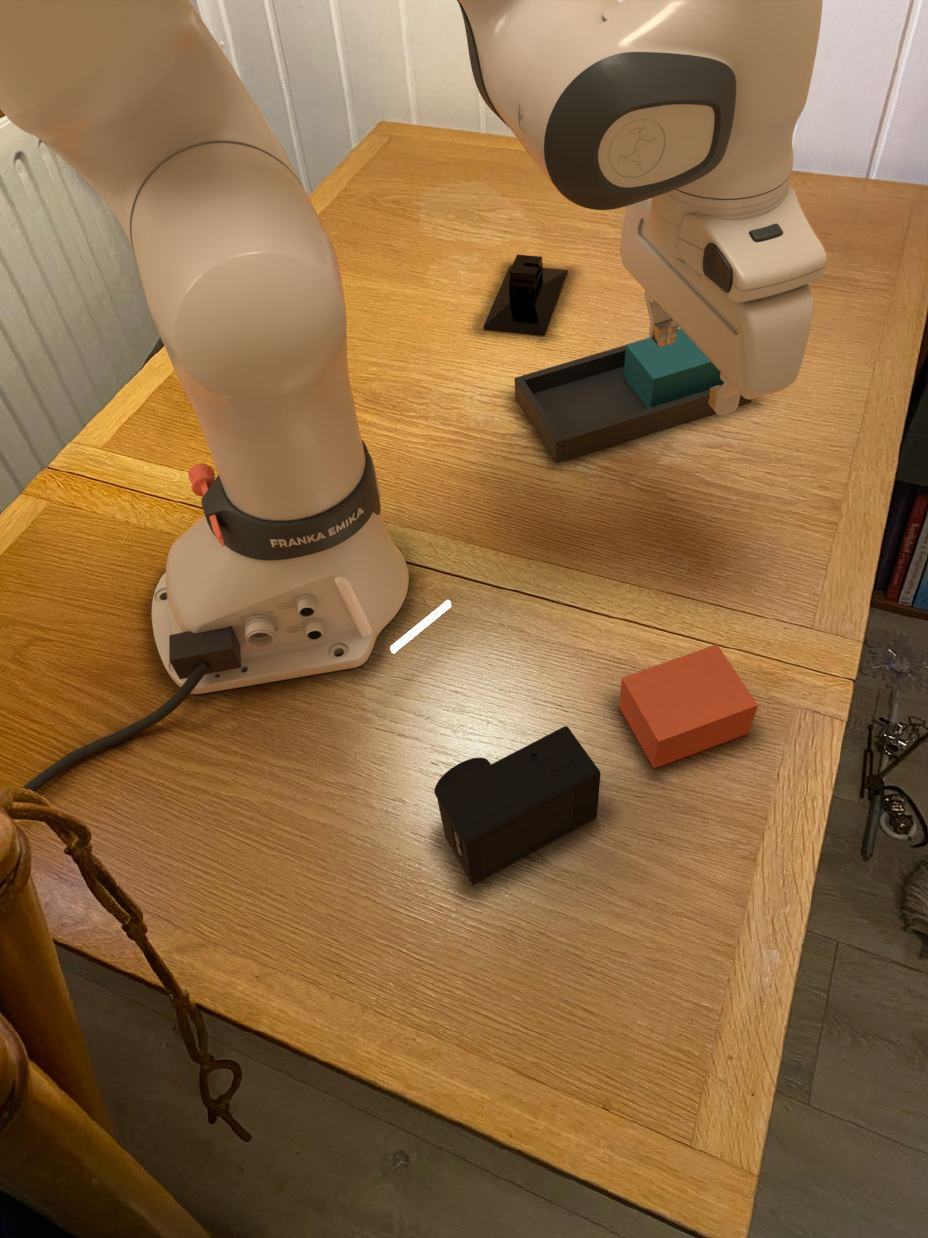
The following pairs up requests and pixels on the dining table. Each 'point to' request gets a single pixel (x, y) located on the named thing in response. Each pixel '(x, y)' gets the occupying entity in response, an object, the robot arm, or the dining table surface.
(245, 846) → the dining table surface
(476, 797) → the digital camera
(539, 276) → the black flat based block
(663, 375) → the teal block
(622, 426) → the dark brown tray
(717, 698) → the orange rectangular block
